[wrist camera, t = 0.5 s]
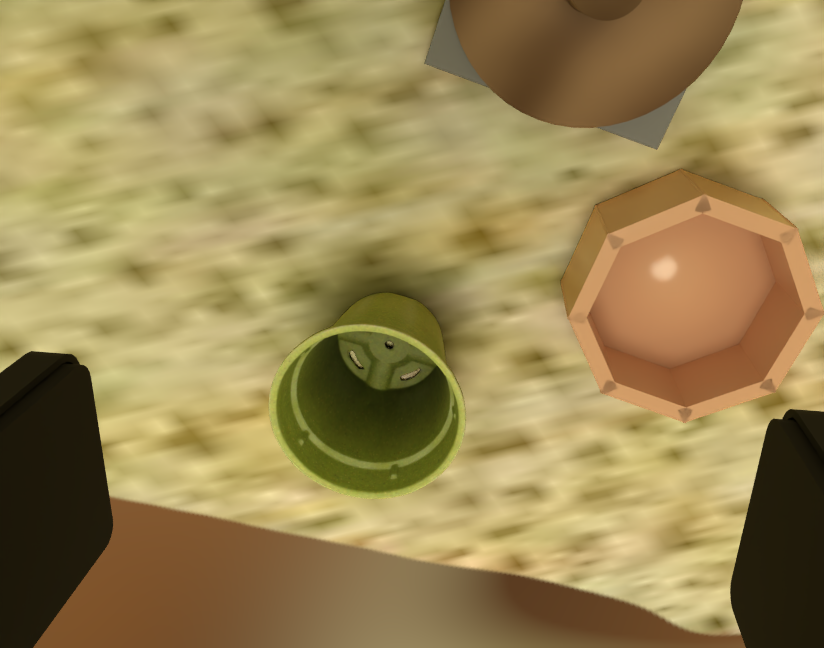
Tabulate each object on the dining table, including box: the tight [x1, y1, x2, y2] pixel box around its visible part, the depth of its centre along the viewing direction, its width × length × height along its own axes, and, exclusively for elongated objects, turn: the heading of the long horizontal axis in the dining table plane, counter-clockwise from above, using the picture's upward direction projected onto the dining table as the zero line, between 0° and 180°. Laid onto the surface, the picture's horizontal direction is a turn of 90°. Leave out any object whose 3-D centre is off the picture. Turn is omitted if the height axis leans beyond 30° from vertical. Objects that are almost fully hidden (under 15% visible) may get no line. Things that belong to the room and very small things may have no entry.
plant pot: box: [269, 293, 466, 499], centre depth 41 cm, size 9×9×9 cm
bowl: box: [561, 169, 824, 423], centre depth 39 cm, size 11×11×5 cm
